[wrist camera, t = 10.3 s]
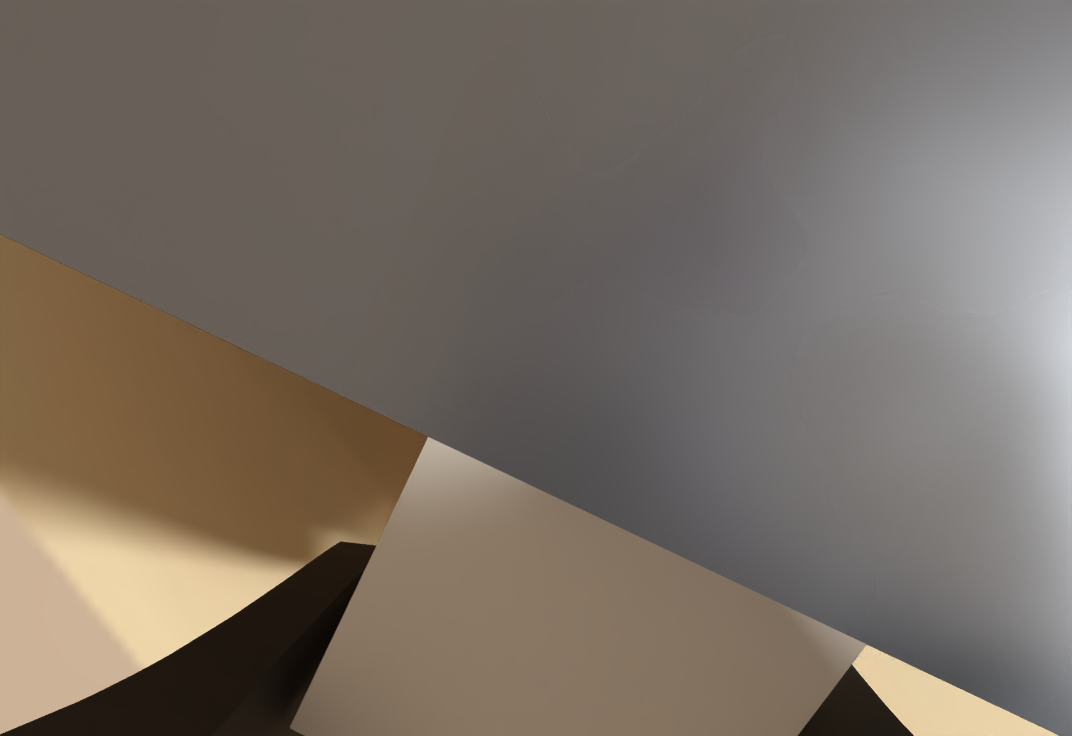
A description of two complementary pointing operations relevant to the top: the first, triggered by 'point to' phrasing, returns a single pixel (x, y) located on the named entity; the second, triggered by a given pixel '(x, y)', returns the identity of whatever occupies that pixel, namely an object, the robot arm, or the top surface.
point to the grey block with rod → (554, 628)
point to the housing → (628, 265)
